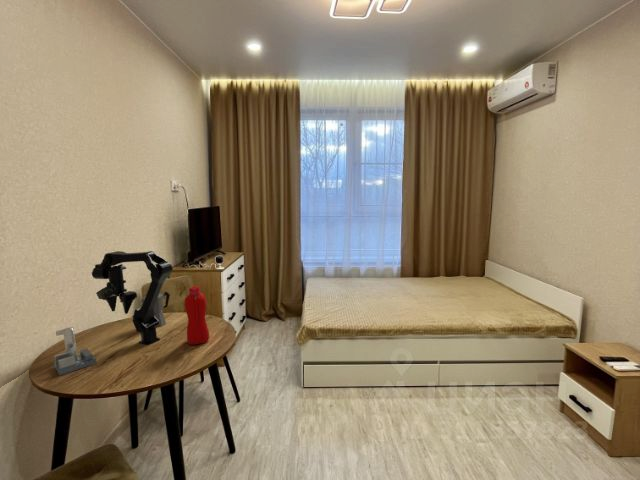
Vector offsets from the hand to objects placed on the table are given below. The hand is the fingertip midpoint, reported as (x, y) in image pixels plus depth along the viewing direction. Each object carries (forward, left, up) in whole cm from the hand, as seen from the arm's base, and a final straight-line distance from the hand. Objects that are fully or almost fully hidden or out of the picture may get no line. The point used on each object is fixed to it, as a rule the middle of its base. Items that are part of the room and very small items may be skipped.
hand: (119, 312), depth 159 cm
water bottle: (-36, -11, -13) cm, 40 cm away
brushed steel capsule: (+5, +21, -13) cm, 25 cm away
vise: (-6, +24, -13) cm, 28 cm away
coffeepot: (+1, -20, -13) cm, 24 cm away
